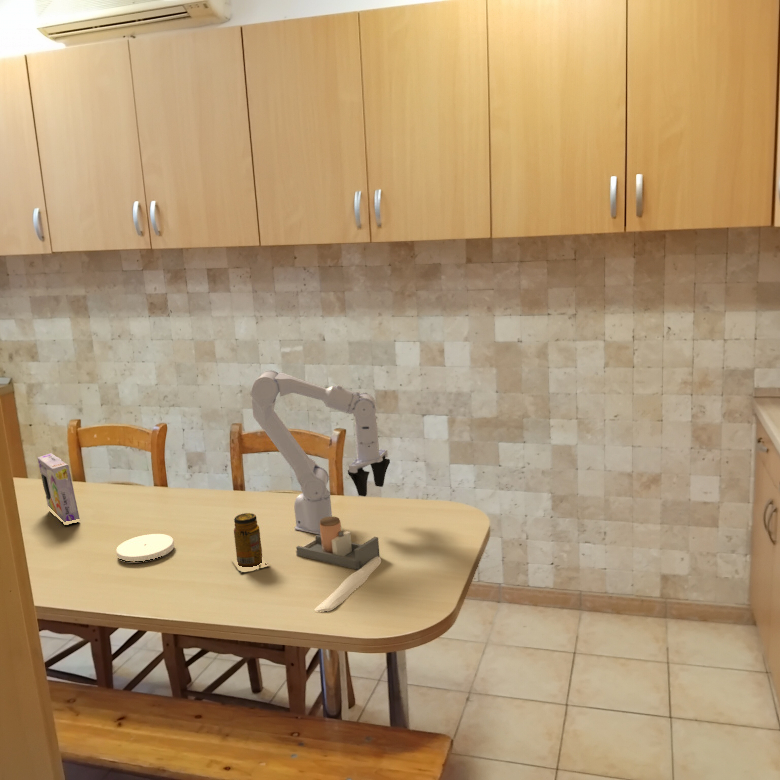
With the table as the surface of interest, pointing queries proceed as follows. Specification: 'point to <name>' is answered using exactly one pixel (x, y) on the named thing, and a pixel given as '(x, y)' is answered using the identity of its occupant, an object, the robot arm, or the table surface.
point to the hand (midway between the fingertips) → (371, 490)
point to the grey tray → (352, 560)
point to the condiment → (247, 540)
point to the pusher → (342, 543)
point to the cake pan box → (58, 487)
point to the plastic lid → (145, 547)
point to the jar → (329, 532)
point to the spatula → (349, 586)
